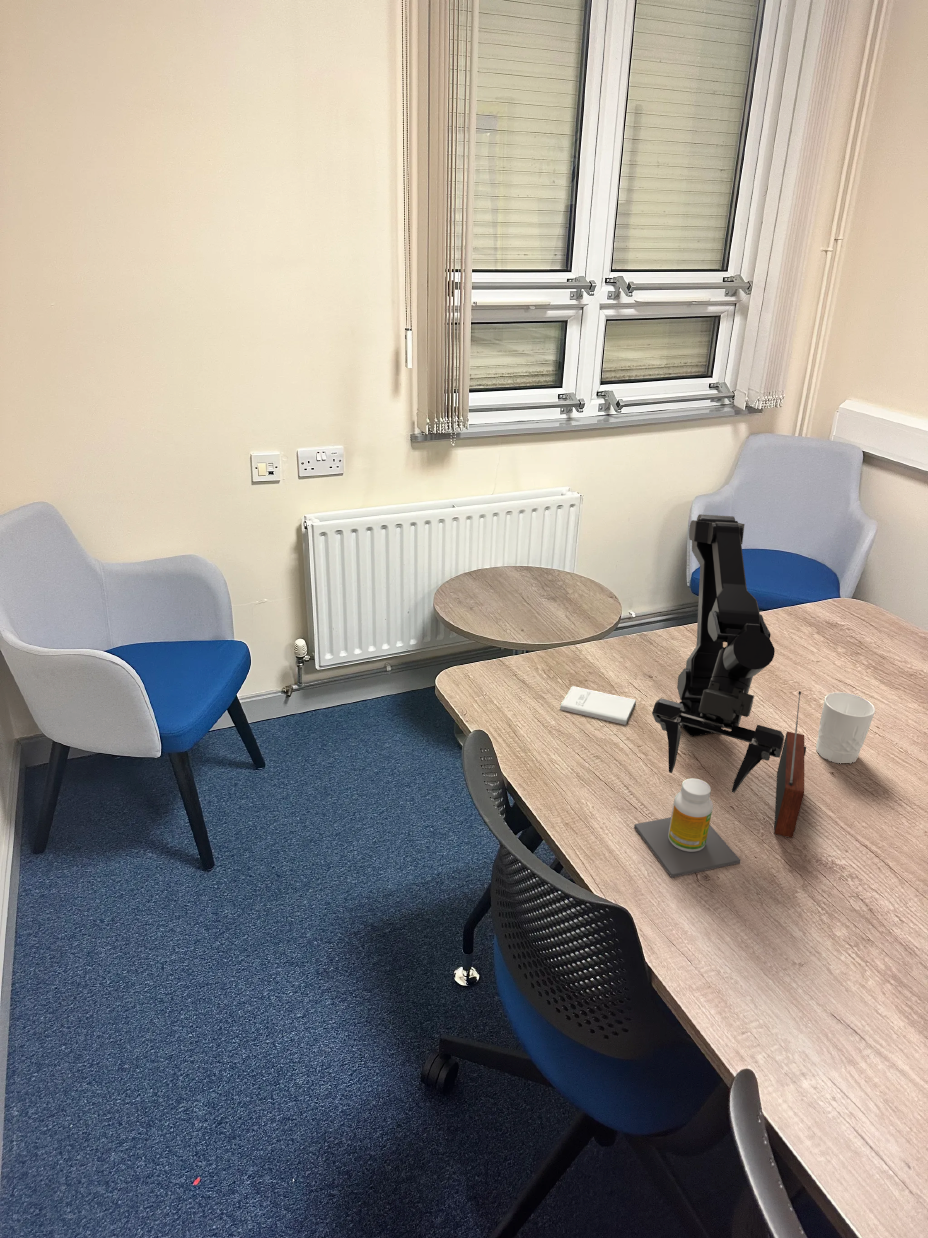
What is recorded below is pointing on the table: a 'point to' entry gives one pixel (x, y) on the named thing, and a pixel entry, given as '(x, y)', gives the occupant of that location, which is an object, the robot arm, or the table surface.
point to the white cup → (843, 726)
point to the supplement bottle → (691, 816)
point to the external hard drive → (598, 705)
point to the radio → (790, 783)
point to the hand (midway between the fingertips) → (701, 782)
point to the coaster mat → (683, 861)
